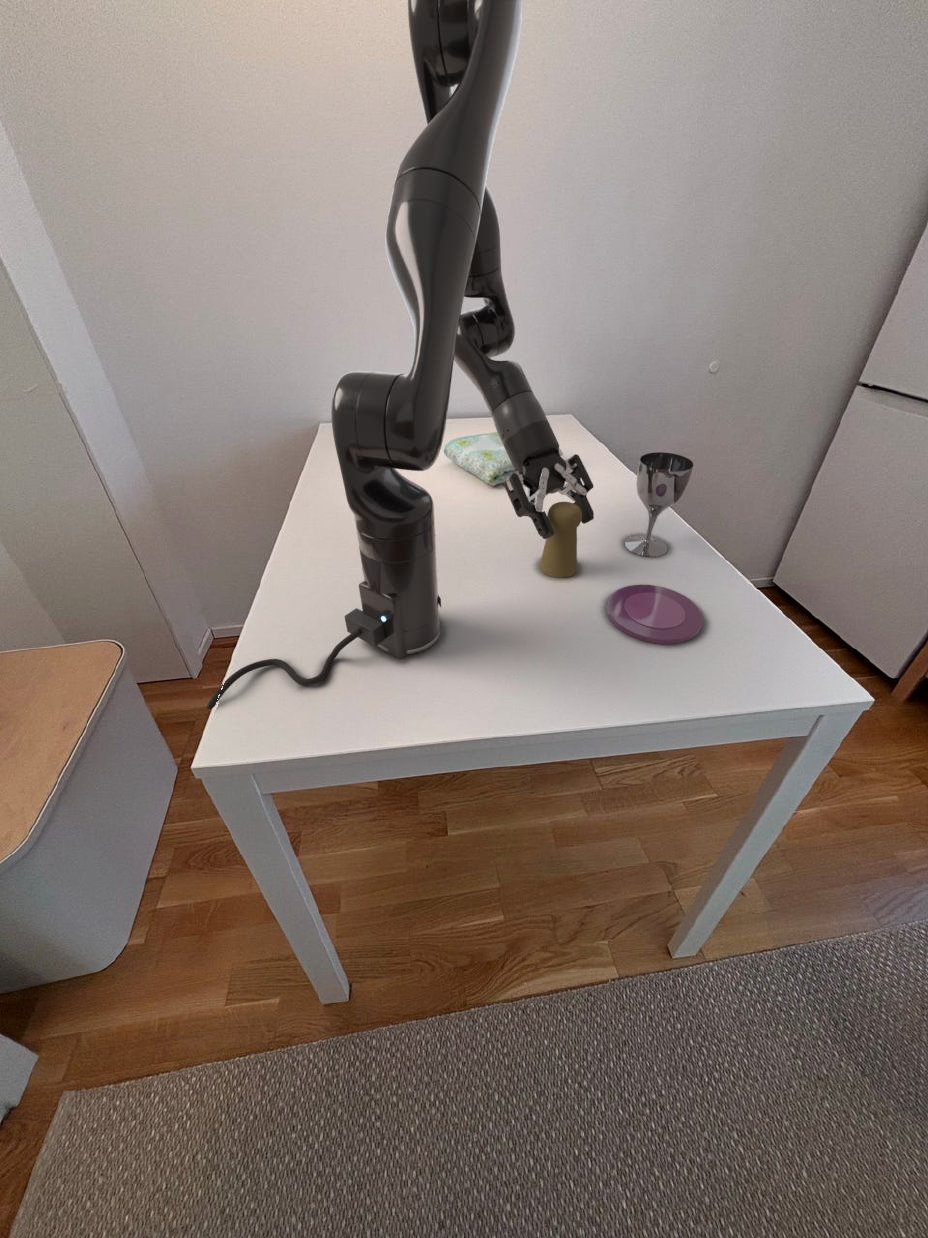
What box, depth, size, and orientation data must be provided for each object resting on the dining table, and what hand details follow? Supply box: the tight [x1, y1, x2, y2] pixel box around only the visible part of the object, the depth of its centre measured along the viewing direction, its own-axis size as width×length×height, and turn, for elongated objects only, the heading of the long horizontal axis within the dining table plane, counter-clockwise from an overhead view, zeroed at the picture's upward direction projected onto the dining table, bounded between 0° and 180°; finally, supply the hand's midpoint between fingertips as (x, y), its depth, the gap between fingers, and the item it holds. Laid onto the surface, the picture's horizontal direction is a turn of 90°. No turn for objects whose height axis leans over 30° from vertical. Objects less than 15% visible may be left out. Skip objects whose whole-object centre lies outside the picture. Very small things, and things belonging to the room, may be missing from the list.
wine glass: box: [624, 451, 694, 558], centre depth 85 cm, size 8×8×15 cm
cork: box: [539, 501, 582, 579], centre depth 81 cm, size 6×6×11 cm
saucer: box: [606, 584, 704, 645], centre depth 74 cm, size 13×13×1 cm
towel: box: [443, 431, 564, 487], centre depth 116 cm, size 18×21×5 cm
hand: (569, 528), depth 78 cm, fingers open, 8 cm apart
